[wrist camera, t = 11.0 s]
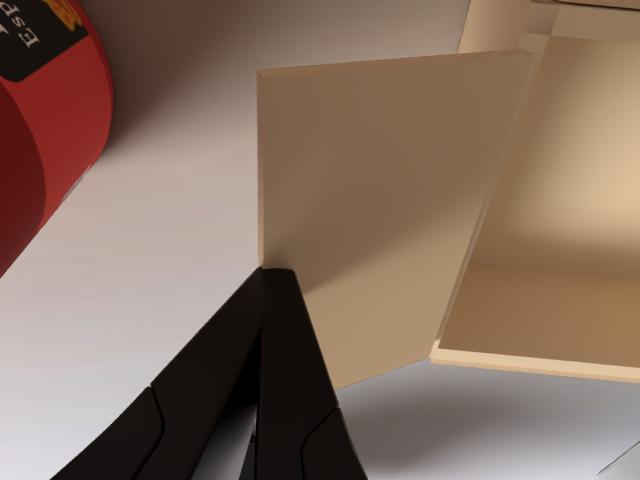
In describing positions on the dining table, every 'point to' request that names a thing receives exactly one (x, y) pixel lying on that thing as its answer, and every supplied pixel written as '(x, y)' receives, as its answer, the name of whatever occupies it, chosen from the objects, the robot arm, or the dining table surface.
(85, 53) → the canned food
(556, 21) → the carton
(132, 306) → the dining table surface
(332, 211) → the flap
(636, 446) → the supplement box
